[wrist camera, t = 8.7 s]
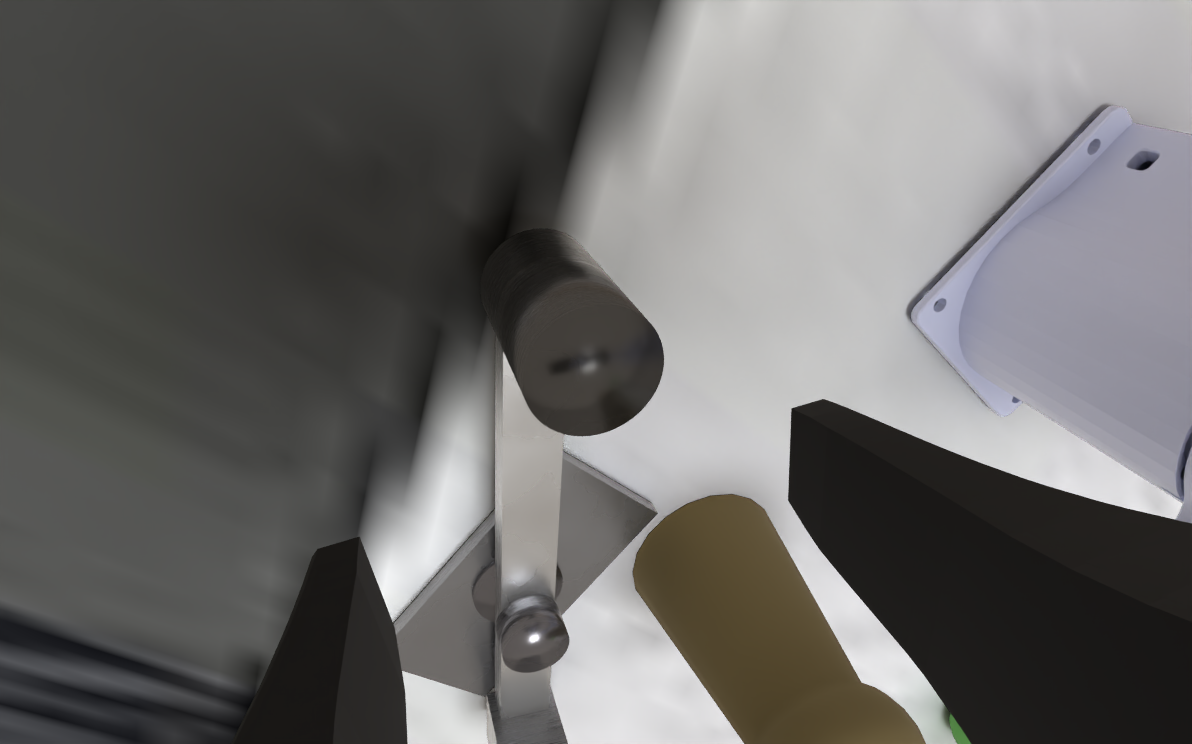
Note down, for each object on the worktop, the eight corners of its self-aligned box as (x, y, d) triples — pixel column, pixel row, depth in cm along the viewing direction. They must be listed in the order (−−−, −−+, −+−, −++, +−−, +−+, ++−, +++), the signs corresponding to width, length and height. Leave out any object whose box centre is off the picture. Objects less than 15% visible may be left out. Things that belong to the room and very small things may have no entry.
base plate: (552, 444, 24) (558, 458, 23) (651, 502, 26) (659, 517, 26) (372, 647, 26) (373, 665, 25) (482, 683, 28) (485, 700, 28)
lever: (553, 718, 29) (599, 874, 24) (478, 736, 28) (510, 902, 23) (583, 213, 19) (671, 300, 14) (471, 215, 18) (523, 310, 13)
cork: (602, 592, 28) (734, 896, 19) (696, 473, 27) (888, 741, 17) (710, 625, 31) (869, 902, 22) (799, 521, 30) (1008, 770, 20)
